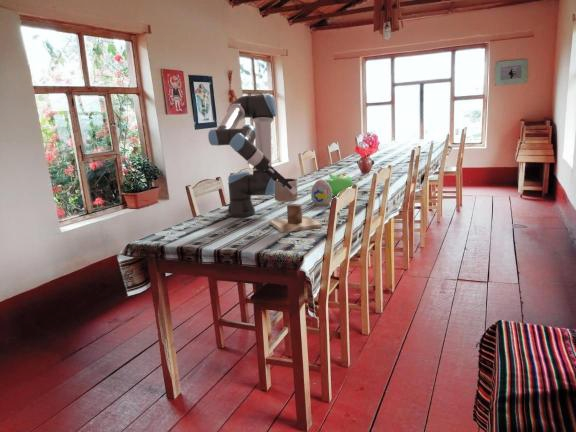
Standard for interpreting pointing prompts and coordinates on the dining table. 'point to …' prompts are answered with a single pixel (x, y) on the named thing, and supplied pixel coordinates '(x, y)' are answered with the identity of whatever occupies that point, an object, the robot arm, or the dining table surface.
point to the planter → (285, 191)
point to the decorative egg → (321, 193)
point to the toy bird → (339, 182)
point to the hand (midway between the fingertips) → (291, 190)
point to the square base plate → (295, 220)
